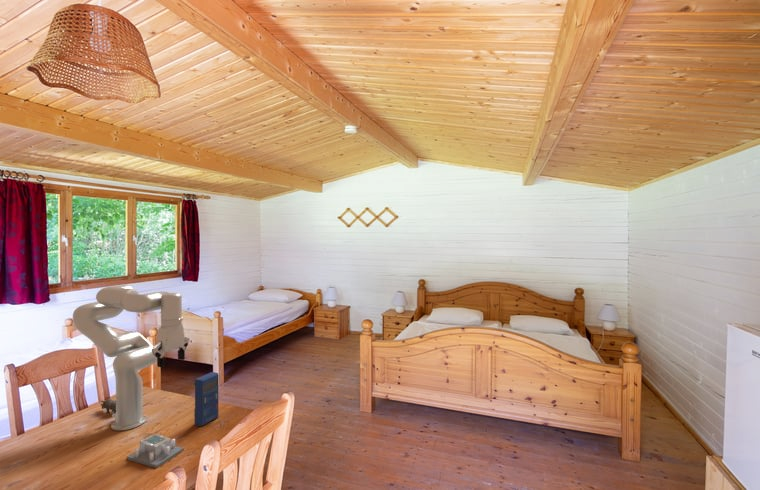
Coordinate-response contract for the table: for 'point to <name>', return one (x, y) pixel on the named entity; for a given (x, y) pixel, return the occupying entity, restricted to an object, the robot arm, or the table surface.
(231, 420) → the table surface
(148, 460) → the grey pegged base plate
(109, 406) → the rhino figurine
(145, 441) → the drive
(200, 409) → the electronic device
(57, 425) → the table surface
